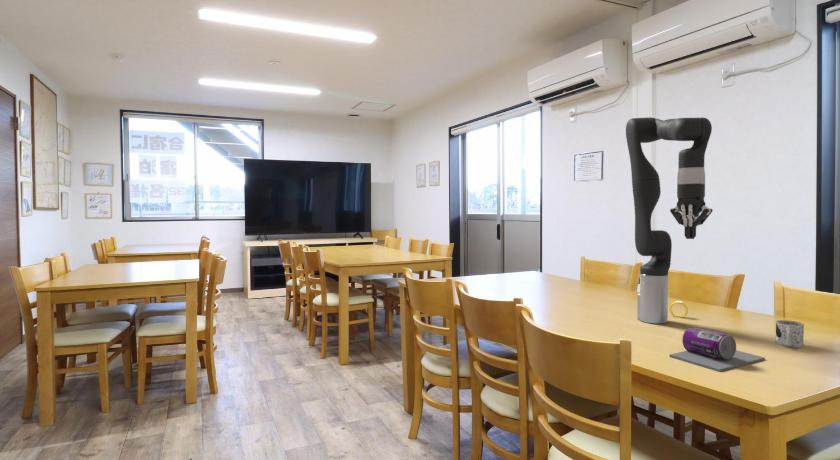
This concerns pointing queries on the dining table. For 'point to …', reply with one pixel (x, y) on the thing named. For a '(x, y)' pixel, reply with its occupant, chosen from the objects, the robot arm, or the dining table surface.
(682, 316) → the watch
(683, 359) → the mat
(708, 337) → the beverage can
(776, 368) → the dining table surface
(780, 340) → the mug
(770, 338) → the dining table surface
